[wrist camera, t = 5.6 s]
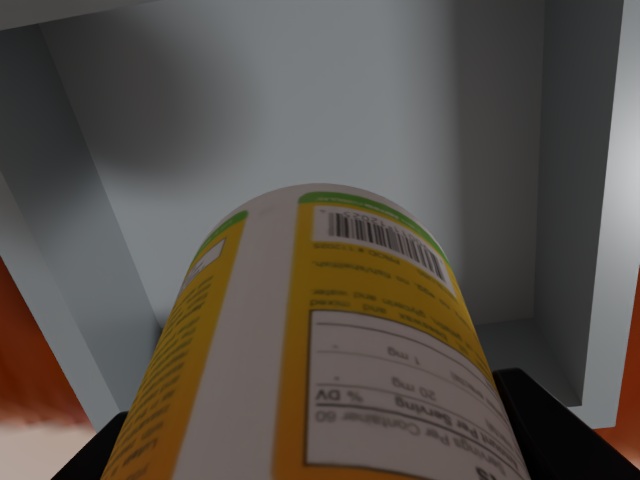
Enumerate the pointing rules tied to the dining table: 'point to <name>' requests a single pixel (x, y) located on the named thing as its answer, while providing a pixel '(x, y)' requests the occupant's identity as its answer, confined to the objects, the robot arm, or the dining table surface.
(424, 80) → the tote
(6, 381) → the dining table surface
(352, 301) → the supplement bottle
